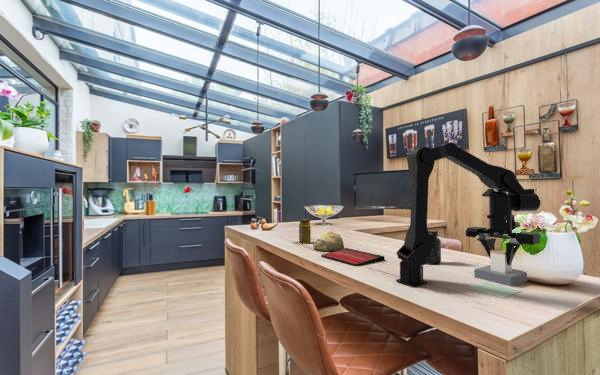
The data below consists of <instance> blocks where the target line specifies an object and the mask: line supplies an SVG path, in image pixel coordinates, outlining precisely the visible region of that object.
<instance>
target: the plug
mask: <svg viewBox="0 0 600 375" xmlns="http://www.w3.org/2000/svg"><path fill="white" fill-rule="evenodd" d="M501 249H502V248H495V249H493V250H490V258H489V259H490V265H491V271H496V272H501V273H508V272H511V271H512V269H513V268H512V267H513V262H512V263H511V265H507V259H506V252H504V251H502V250H501Z"/></svg>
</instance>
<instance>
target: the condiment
mask: <svg viewBox="0 0 600 375" xmlns="http://www.w3.org/2000/svg"><path fill="white" fill-rule="evenodd" d="M311 226H312V225H311V220H310V219H307V218H304V219H300V220H299V224H298V241H293V243H294V244H298V245H306V244H312V243H313V244H314V241H311V239H312V238H311V228H312V227H311ZM298 242H299V243H298ZM302 243H303V244H302Z"/></svg>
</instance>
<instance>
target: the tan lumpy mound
mask: <svg viewBox="0 0 600 375" xmlns="http://www.w3.org/2000/svg"><path fill="white" fill-rule="evenodd" d="M312 248H313V249H314V250H317V251H323V252H334V251H338V250H341V249H345V245H344V241H343V238H342V236H340V234H337V233H336V232H333V231H328V232H326V233H325V234H323V235H322V236H319V238H317V239H316V241H314V242H313V245H312Z"/></svg>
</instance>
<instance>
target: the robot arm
mask: <svg viewBox="0 0 600 375" xmlns="http://www.w3.org/2000/svg"><path fill="white" fill-rule="evenodd" d="M444 158H445V159H447V160H448V161H451V162H452V163H454V164H455V165H458V166H459V167H461V168H462V169H465V170H466V171H469V172H470V173H472V174H473V175H475V176H476V177H477V178H478V179H479V180H480V182H481V183H482V184H483V185H485V186H486V187H487V189H486V191H484V192H483V193H482V194H481V197H484V198H485V197H486V198H489V199H488V209H489V212H488V214H486V218H487V219H488V220H489V221H488V222H489V226H488V227H489V228H486V227H482V226H470V227H466V230H465V232H464V233H465V237H466V238H467V237H468V238H476V237H478V238H477V239H476V240H477V241H478V242H480V243H481V245H482V247H483V249H484V250H485V252H486V254H487V255H488V258H489V259H490V250H493V249H496V246H495V243H496V241H497V238H498V239H499V238H500V239H506V238H507V239H508V240H509V242H508V241H507V242H505V250H506V259H507V265H511V263H512V264H513V260H514V258H515V256H516V253H517V251H518V249H520V248H521V246H523V244H524V245H530V246H531V245H532V246H534V245H538V244H541V243H540V237H541V238H542V235H541V234H540V233H539V232H534V233H531V232H532V231H521V232H520V233H517V234H516V233H512V230H513V229H515V228H516V227H517V225H516V222H515V221H516V218H515V215H514V214H513V211H514V212H535V211H538V210H539V209H540V206H541V204H542V202H541V199H540V197H539V195H538V194H537V193H535V189H534V188H524V187H523V186H522V185H521V183H520V182H519V180H518V179H517V177H516V174H515V172H514V171H512V170H511V169H509V168H506V167H502V166H499V165H493V164H491V163H488V162H486V161H485V160H482V159H481V158H479V157H478V156H475V155H473V154H472V153H470V152H468V151H466V150H465V149H463V148H462V147H459V146H457V144H456V143H454V142H447V143H443V144H441V145H438V146H435V147H432V148H430V147H427V146H424V147H419V148H417V149H413V150H412V151H411V150H410V152H409V153H408V154H407V157H406V160H407V161H406V162H407V168H408V173H409V175H410V177H411V189H410V190H411V191H410V192H411V195H410V223H409V224H410V225H409V227H408V230H407V231H406V234H405V238H404V243H403V245H402V246H401V247H400V248H399V249H398V250H397V251H396V255H397V258H398V259H399V260H401V261H399V277H400V278H397V279H395V282H397V283H400V284H403V285H405V286H410V287H412V288H413V287H418V286H422V285H425V284H426V285H427V284H428V281H427V280H424V266H425V265H427V264H426V261H427V258H428V256H429V255H431V253H432V248H435V247H434V237H435V236H434V234H432V233H429V231H428V230H429V229H428V209H429V208H428V207H429V205H428V204H429V180H430V177H431V175H432V172H433V170H434V168H435V162H436V161H438V160H441V159H444ZM506 221H507V222H506ZM503 234H508V236H507V235H503ZM520 245H521V246H520ZM514 246H516V247H515V248H514Z"/></svg>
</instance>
